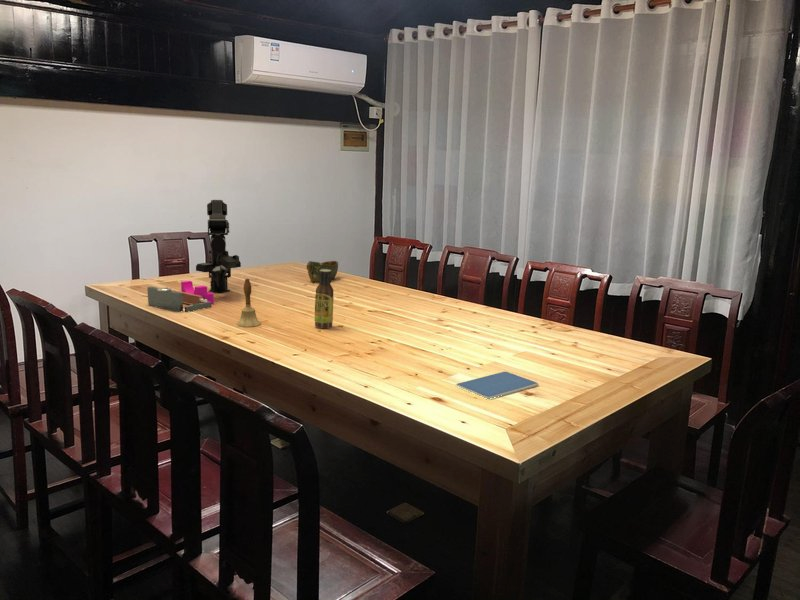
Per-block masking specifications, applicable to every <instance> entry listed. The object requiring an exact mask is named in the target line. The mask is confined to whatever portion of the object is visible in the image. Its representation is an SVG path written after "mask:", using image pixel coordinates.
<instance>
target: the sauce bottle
mask: <svg viewBox="0 0 800 600" xmlns="http://www.w3.org/2000/svg"><path fill="white" fill-rule="evenodd" d="M319 275H320V281H319V283H318V285H317V287H316V289H315V296H314V302H315V303H314V326H315V327H316V328H318V329H329V328H330V327H331V328H332V327H333V320H334V291H335V290H334V288H333V286H332V284H331V282H332V281H330V279H331V270H327V269H322V270H319ZM331 328H330V329H331Z"/></svg>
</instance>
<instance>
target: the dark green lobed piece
mask: <svg viewBox="0 0 800 600" xmlns="http://www.w3.org/2000/svg"><path fill="white" fill-rule="evenodd" d="M322 269H327V270H331V279H330V281H331V282H332V281H334V280H335V278H336V276H337V274H338V271H339V270H338V269H339V261H337V260H329V261H323V262H318V261H311V260H310V261H308V262H307V264H306V270H307V273H308V274H307V275H308V277H309V279H310V281H311V282H312V283H316V284H319V281H320V275H319V270H322Z"/></svg>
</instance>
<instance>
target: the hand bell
mask: <svg viewBox="0 0 800 600" xmlns="http://www.w3.org/2000/svg"><path fill="white" fill-rule="evenodd" d="M243 294H244V297H245V307H244V308H242V309H241V315H240V319H239V320H238V321H237V323H236V324H237V325H238V326H237V325H236V326H237V327H240V326H241V327H242V328H252V327H253V328H254V326H255V327H259V326H260V324H261V325H262V323H261V321H260V320H259V319H258V317H257V313H256V309H255V308H254V307H252V305H251V304H252V303H251V294H252V283H251V282H250V279H249V278H245V280H244V283H243ZM258 325H259V326H258ZM241 327H240V328H241Z"/></svg>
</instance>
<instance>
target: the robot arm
mask: <svg viewBox="0 0 800 600" xmlns="http://www.w3.org/2000/svg"><path fill="white" fill-rule="evenodd" d="M206 211H207V212H206V213H207V216H208V219H207V236H210V250H208V253H209V254H210V255H211V256H210V258H209V260H208V262H209V263H207V262H201V263H197V264H196V265H195V271H196V272H202V273H208V278H209V279H210V282H209V283H210V289H208V292H211V293H216V292H217V294H220V293H225V292H230V291H231V289H230V288H228V284H229V283H228V279H229V278H232V269H236V268H241V267H242V266H241V264H242V263H241V261H240V256H239V255H238V254H235V255H229V250H227V249H226V247H227V243H226V236H228V235H229V233H230V223H229V220H228V219H227V217H226V216H228V204H227V203H225V202H224V200H222V199H212V200H210V202H208V203H207V204H206Z"/></svg>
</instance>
